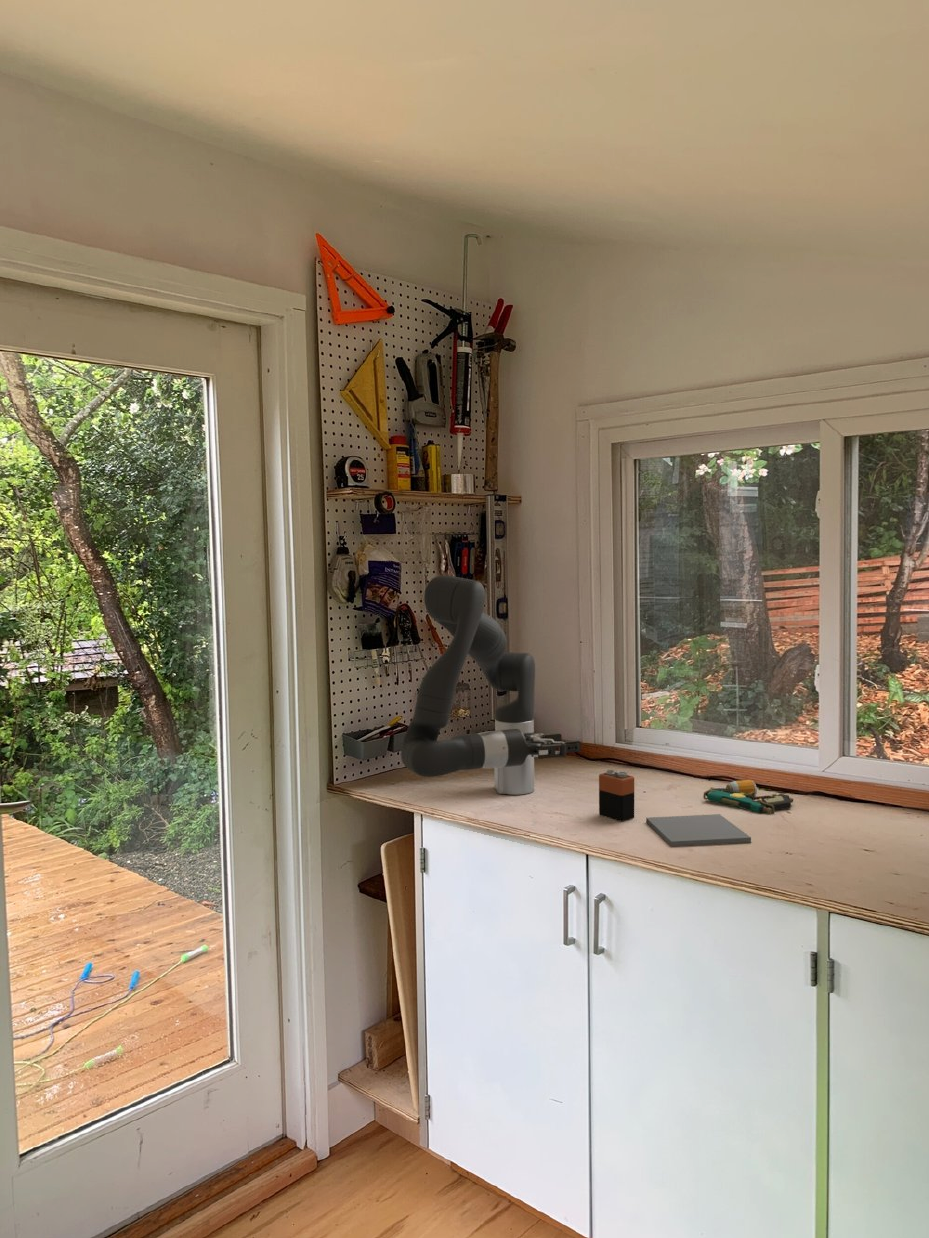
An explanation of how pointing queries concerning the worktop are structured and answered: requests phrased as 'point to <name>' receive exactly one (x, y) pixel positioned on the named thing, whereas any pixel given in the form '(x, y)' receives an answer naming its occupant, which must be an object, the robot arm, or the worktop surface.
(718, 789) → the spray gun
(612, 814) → the battery
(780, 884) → the worktop surface
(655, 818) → the mat
